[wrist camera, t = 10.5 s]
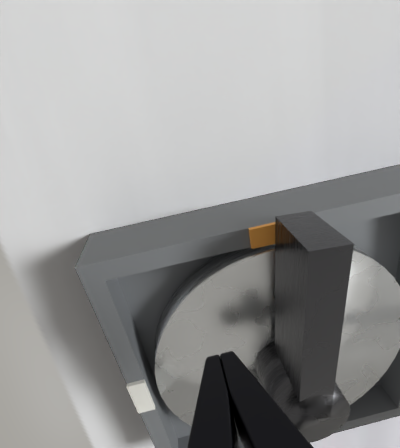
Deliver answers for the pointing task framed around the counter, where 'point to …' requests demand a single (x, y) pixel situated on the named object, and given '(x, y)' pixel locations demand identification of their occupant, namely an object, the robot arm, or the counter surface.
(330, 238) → the dial
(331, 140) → the counter surface
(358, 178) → the dial base
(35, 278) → the counter surface
